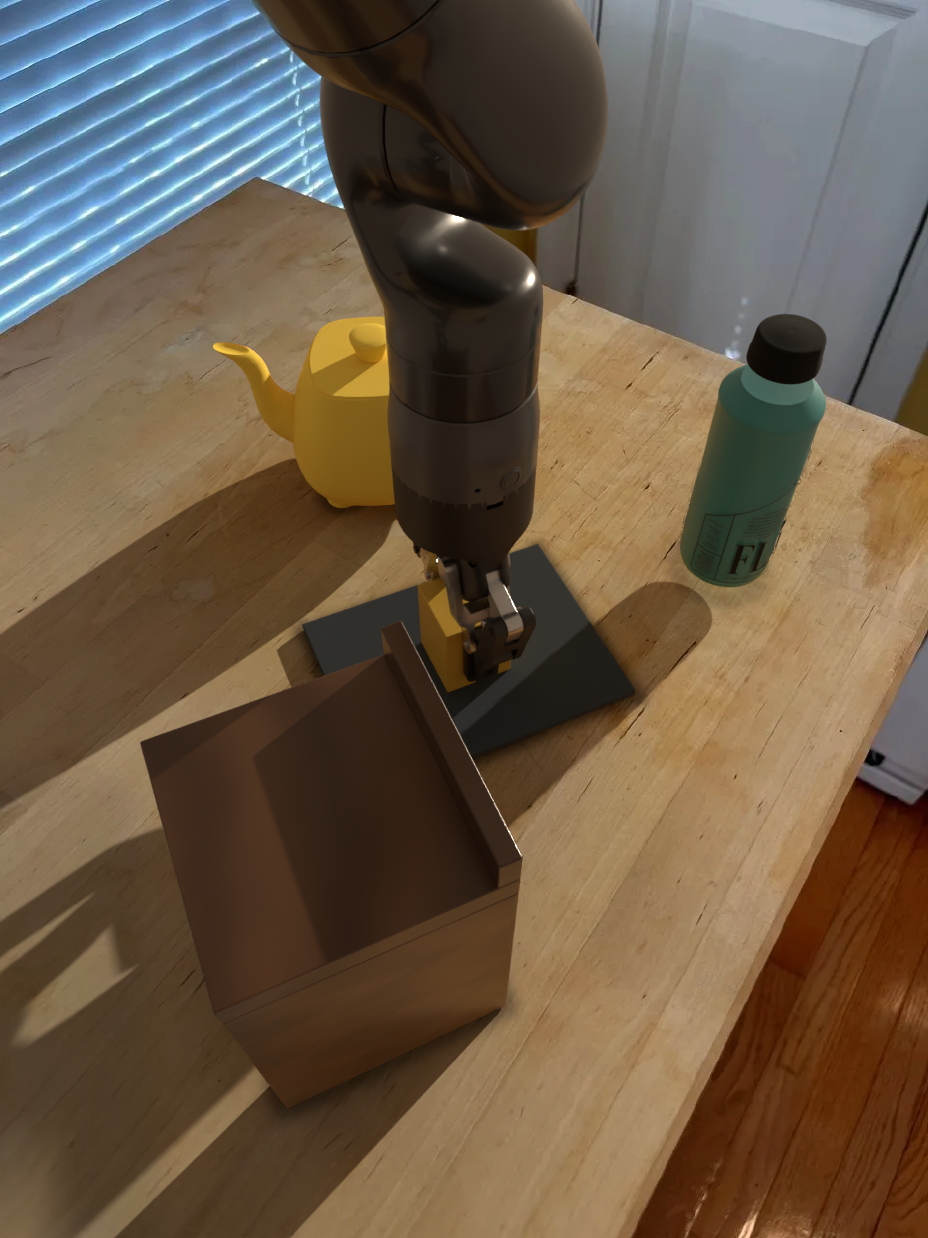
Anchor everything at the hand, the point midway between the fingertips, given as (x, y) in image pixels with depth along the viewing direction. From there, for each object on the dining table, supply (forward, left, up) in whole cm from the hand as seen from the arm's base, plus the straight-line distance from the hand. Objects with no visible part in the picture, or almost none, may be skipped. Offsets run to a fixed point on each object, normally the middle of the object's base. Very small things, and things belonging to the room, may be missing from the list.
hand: (464, 644), depth 61 cm
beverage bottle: (+20, 0, -2) cm, 20 cm away
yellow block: (0, 0, -1) cm, 1 cm away
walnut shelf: (-13, -15, -2) cm, 20 cm away
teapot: (+1, +20, -2) cm, 20 cm away
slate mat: (0, 0, -2) cm, 2 cm away
